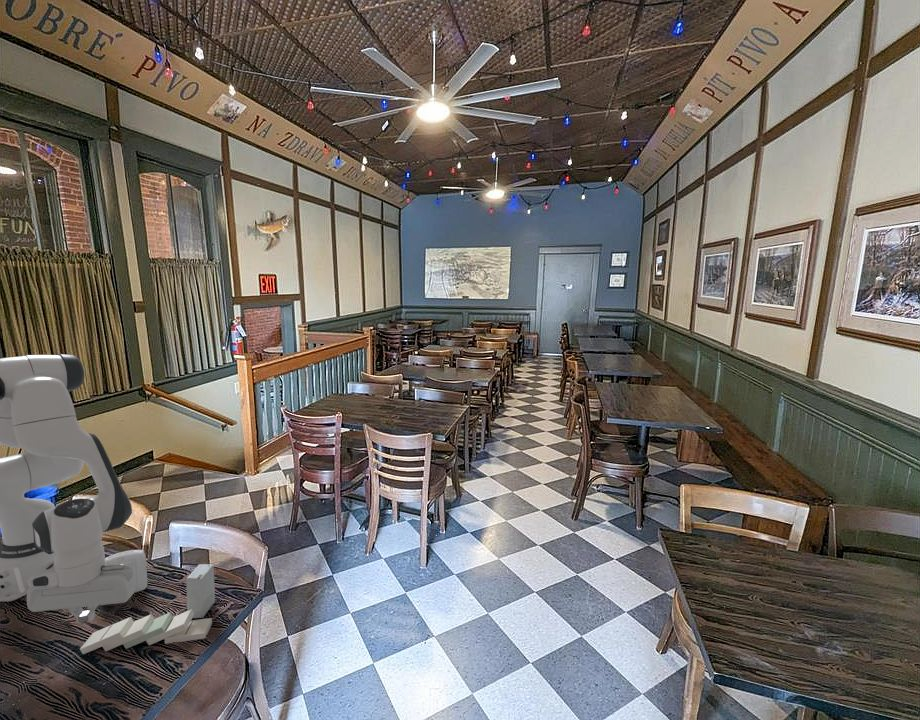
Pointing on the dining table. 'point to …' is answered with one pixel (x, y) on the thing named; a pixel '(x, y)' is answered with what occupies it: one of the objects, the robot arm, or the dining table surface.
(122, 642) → the domino
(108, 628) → the domino
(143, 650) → the dining table surface
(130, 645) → the pale green domino
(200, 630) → the domino
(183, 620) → the domino
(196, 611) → the skincare box
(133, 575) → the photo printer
